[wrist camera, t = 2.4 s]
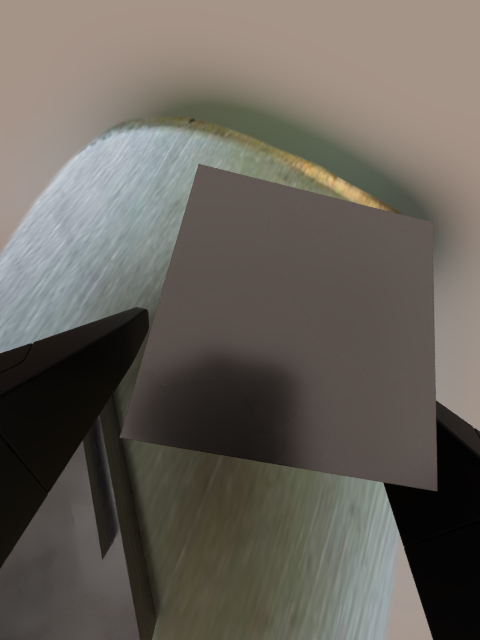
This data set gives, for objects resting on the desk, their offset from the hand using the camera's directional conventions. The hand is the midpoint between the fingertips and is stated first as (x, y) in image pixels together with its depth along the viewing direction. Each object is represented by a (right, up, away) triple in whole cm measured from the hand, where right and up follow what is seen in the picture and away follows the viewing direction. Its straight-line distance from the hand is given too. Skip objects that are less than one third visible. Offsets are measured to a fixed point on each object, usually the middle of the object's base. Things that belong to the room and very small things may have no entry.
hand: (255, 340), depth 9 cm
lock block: (-1, -2, +8) cm, 8 cm away
